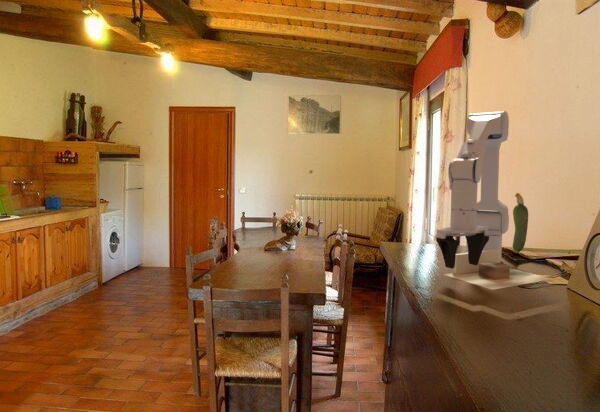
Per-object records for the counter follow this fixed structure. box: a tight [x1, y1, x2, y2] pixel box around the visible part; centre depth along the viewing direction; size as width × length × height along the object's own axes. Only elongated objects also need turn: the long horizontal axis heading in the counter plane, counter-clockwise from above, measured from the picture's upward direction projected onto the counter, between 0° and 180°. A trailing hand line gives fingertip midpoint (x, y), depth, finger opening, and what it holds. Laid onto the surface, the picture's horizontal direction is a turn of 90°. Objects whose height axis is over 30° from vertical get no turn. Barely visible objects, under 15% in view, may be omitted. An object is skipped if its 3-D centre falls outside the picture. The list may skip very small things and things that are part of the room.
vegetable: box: [512, 192, 529, 254], centre depth 136 cm, size 4×4×20 cm
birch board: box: [443, 267, 553, 291], centre depth 105 cm, size 15×21×1 cm
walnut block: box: [479, 262, 511, 280], centre depth 105 cm, size 5×5×3 cm
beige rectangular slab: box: [452, 249, 502, 274], centre depth 111 cm, size 1×16×5 cm, turn 115°
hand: (461, 266), depth 101 cm, fingers open, 7 cm apart
